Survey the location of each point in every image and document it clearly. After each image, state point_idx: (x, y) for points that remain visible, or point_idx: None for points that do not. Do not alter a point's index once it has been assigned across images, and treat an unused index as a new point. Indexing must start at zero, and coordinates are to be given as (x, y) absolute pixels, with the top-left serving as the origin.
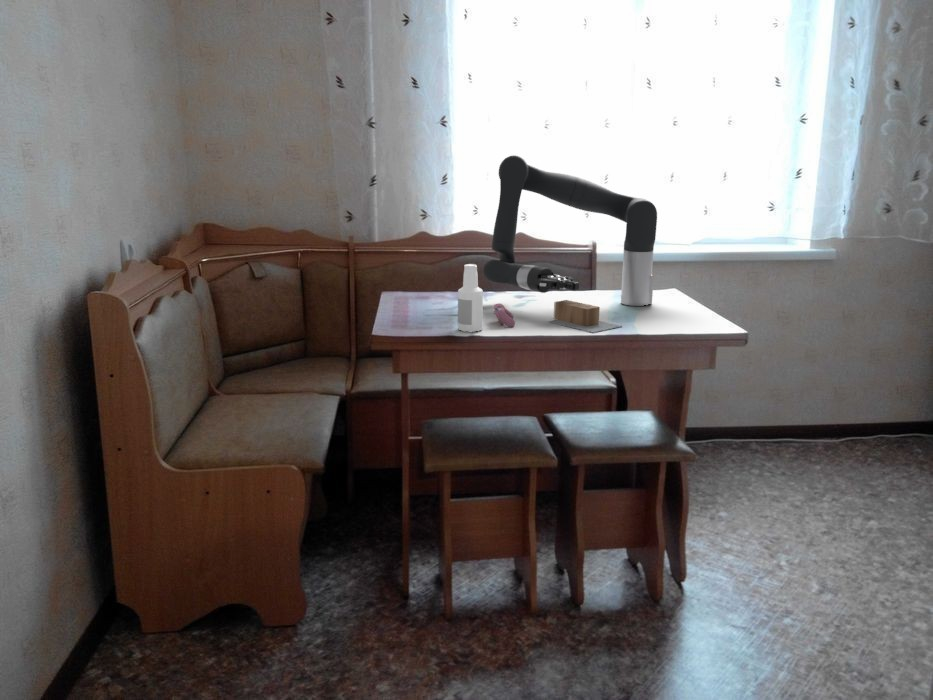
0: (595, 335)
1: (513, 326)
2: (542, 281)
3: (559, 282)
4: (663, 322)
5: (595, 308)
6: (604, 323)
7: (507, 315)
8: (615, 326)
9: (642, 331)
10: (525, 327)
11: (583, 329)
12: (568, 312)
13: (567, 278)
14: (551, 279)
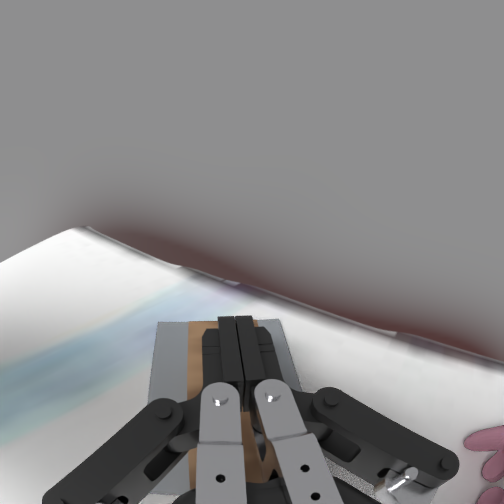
0: (286, 307)
1: (464, 443)
2: (441, 450)
3: (324, 393)
4: (50, 300)
5: (212, 323)
6: (170, 361)
7: (500, 427)
8: (177, 326)
9: (161, 284)
10: (433, 434)
11: (284, 345)
12: None
13: (119, 488)
14: (341, 496)
